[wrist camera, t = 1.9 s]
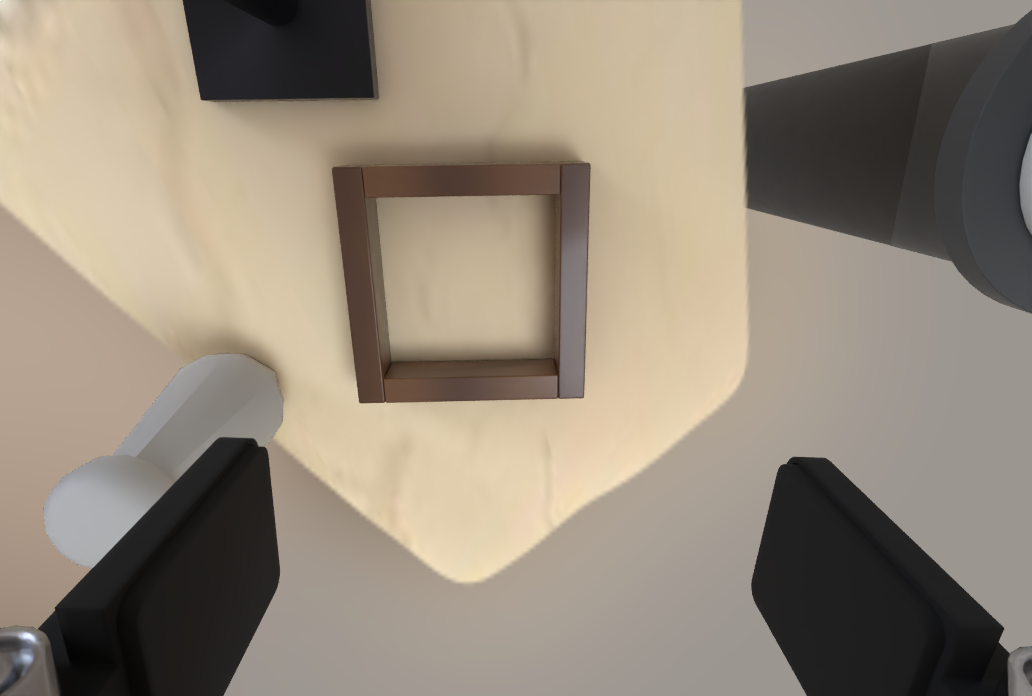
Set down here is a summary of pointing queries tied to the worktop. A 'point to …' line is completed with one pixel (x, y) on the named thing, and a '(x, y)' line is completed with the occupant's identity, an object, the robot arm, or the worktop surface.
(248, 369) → the salt shaker
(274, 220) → the worktop surface
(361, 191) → the walnut frame
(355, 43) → the peg stand
